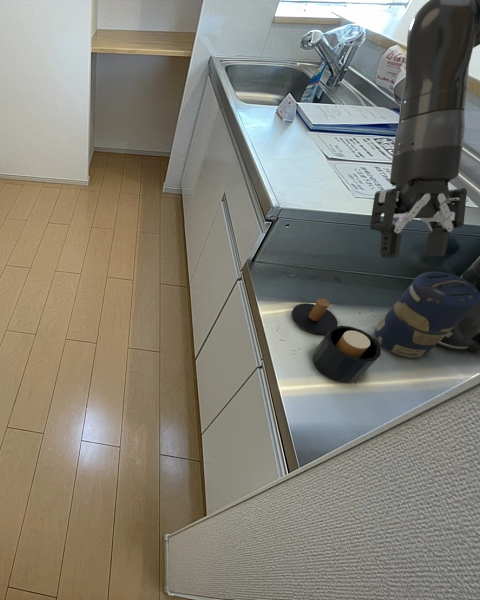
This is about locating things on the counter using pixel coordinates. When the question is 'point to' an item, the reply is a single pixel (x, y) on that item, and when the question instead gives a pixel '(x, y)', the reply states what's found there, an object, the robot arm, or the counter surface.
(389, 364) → the counter surface
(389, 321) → the canister
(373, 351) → the cup
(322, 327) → the lid
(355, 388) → the counter surface
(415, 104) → the robot arm
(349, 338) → the cylinder
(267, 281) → the counter surface
